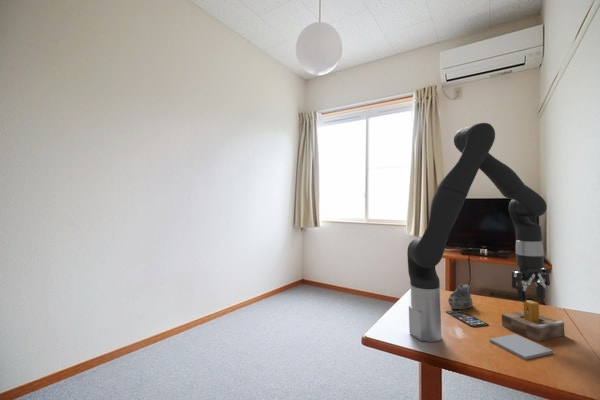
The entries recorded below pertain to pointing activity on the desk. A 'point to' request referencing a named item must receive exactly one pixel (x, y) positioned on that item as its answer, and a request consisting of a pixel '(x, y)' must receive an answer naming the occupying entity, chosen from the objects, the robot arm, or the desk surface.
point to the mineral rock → (461, 297)
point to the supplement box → (531, 311)
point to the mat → (521, 346)
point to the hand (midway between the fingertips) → (531, 299)
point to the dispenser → (533, 326)
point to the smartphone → (467, 318)
